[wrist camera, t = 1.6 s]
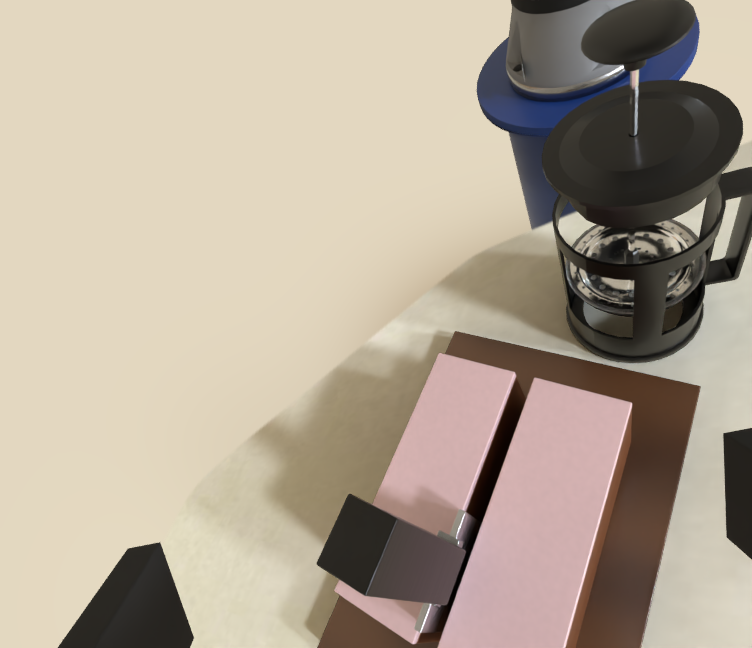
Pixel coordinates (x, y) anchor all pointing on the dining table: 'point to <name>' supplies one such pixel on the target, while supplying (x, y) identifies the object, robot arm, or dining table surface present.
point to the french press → (646, 188)
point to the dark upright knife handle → (400, 558)
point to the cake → (507, 501)
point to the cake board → (631, 508)
